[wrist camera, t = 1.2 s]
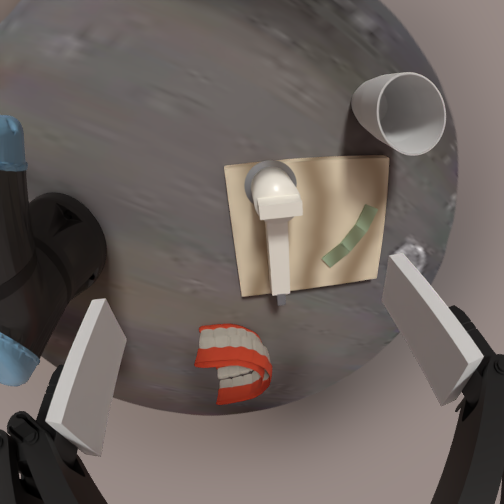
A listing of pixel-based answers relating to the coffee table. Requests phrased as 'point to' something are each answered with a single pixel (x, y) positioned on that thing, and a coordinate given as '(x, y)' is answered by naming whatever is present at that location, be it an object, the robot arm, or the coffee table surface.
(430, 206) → the coffee table surface
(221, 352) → the toy
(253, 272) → the board
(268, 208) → the lever
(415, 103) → the cup
